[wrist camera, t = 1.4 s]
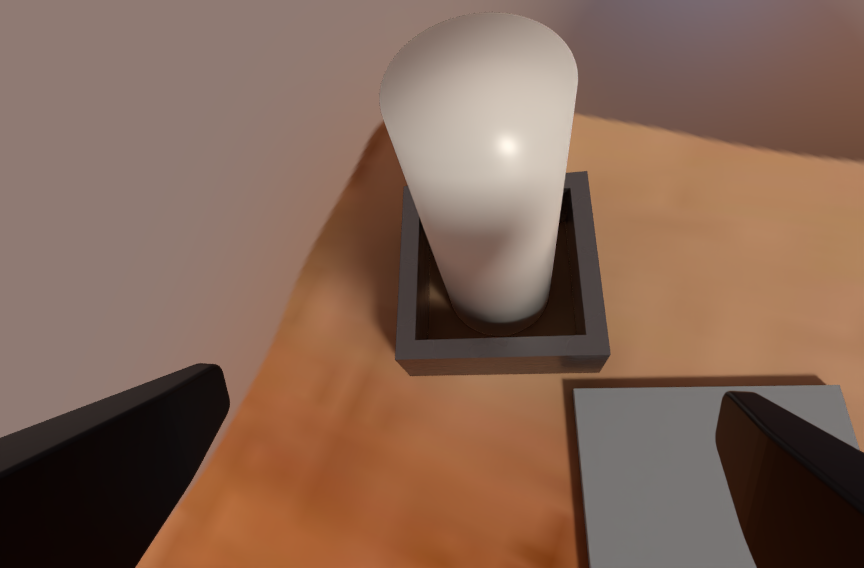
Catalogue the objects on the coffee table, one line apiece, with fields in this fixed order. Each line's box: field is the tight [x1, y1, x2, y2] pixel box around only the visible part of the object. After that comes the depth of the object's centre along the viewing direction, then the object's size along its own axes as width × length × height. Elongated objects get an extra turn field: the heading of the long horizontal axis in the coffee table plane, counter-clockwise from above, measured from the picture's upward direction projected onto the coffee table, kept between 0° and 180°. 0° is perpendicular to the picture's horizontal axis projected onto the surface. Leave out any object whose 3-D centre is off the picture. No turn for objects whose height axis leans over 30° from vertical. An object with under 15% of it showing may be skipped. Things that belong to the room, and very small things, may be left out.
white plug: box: [379, 12, 578, 336], centre depth 18 cm, size 5×5×13 cm
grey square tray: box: [395, 171, 611, 376], centre depth 22 cm, size 8×8×3 cm
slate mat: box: [573, 385, 859, 568], centre depth 18 cm, size 10×10×1 cm
